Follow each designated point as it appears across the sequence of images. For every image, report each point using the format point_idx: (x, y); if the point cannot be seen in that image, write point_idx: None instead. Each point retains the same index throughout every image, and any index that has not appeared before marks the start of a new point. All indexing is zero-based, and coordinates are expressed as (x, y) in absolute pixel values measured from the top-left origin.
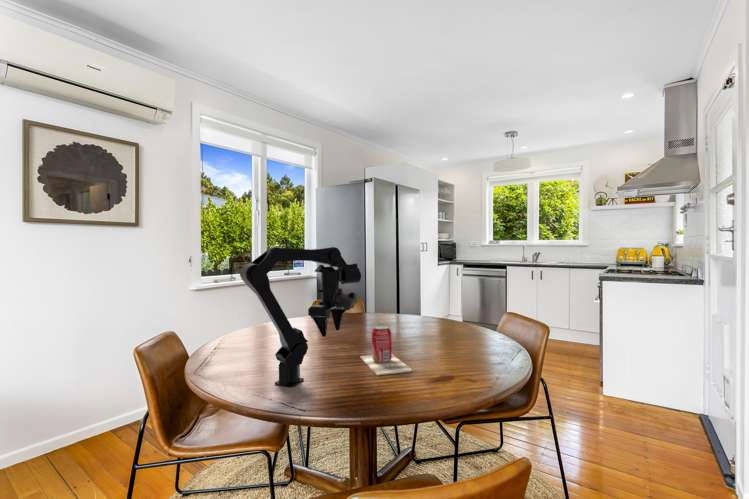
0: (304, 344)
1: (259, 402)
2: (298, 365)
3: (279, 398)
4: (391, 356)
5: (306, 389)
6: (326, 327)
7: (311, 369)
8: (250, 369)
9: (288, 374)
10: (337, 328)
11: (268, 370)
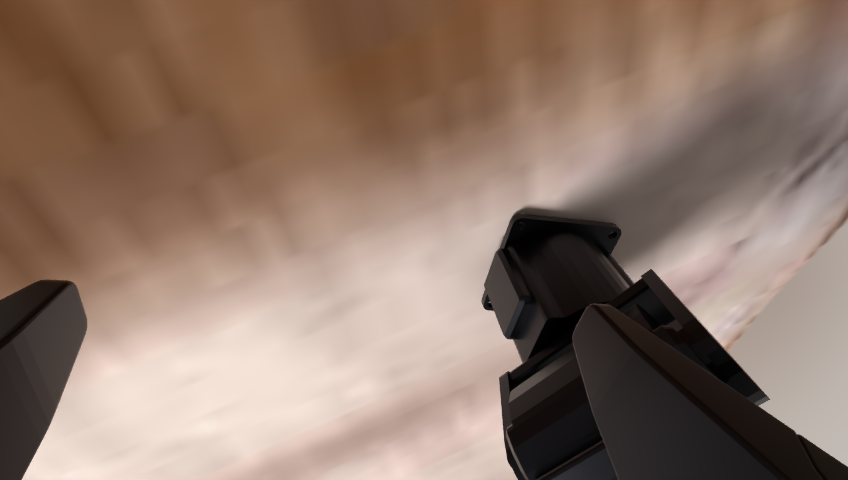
0: (714, 375)
1: (760, 267)
2: (589, 287)
3: (740, 216)
4: None
5: (651, 143)
6: (735, 419)
7: (320, 249)
8: (395, 455)
9: (632, 284)
10: (63, 329)
11: (392, 405)
